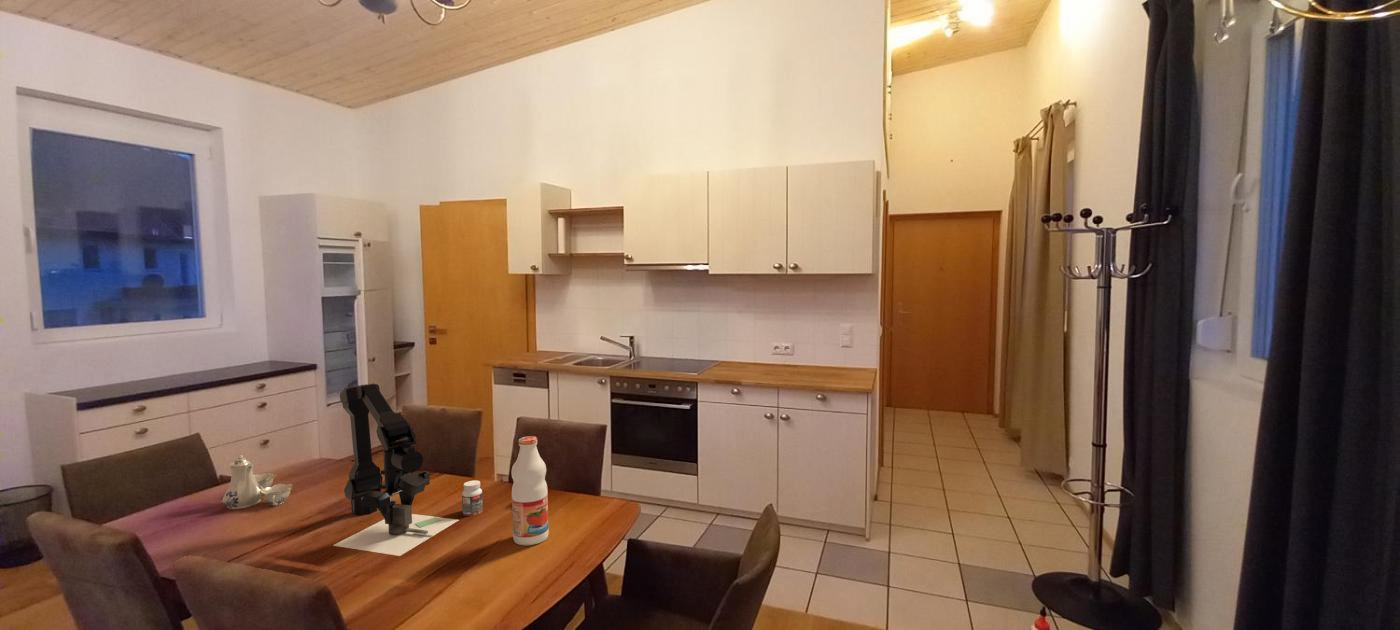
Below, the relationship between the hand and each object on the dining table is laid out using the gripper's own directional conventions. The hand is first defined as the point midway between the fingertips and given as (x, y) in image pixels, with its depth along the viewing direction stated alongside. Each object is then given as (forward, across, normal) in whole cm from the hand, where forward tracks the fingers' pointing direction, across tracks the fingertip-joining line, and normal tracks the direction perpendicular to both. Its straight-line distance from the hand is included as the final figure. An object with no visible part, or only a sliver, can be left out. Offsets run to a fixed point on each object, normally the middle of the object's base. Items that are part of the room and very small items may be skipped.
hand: (398, 519), depth 157 cm
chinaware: (+5, +8, +66) cm, 67 cm away
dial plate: (+4, 0, 0) cm, 4 cm away
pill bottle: (+5, +17, -11) cm, 21 cm away
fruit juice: (+5, +8, -37) cm, 38 cm away
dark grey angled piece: (+3, 0, -3) cm, 4 cm away
